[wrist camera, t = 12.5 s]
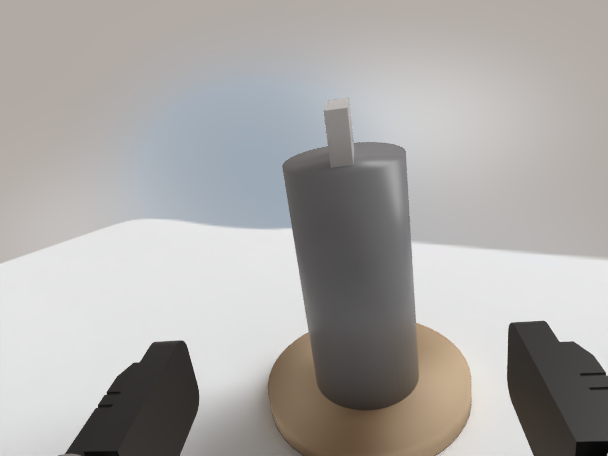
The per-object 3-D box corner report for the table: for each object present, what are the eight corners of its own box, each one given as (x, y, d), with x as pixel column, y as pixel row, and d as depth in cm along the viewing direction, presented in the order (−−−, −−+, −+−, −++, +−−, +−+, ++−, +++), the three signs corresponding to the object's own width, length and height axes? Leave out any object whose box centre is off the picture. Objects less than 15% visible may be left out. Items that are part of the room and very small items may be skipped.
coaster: (253, 473, 19) (249, 454, 19) (286, 336, 27) (283, 321, 27) (495, 471, 18) (495, 450, 17) (451, 328, 26) (451, 312, 25)
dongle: (311, 411, 20) (263, 123, 16) (320, 344, 24) (283, 102, 20) (424, 408, 19) (407, 106, 15) (413, 339, 24) (397, 87, 19)
